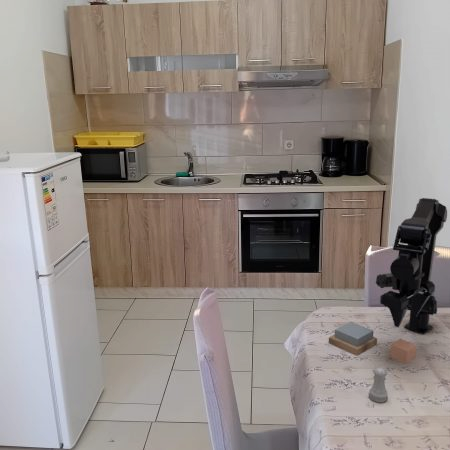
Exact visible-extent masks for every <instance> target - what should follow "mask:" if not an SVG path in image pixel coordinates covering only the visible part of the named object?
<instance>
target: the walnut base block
mask: <svg viewBox="0 0 450 450" xmlns="http://www.w3.org/2000/svg"><path fill="white" fill-rule="evenodd" d="M377 343H378V338H377V337H374V336H373V339H371V340H369V341H367V342H365V343H364V344H362V345H360V346H358V347H356V346H354V345H352V344H349V343H347V342H345V341H342V340H340V339H338V338H336V337H335V333H334V334H333V335H330V336H329V337H328V344H331V345H333V346H334V347H337V348H338V349H340V350H342V351H345V352H347V353H350V354H351V355H354V356H356V357H357V356H359V355H361V354H363V353H364V352H366V351H368V350H369V349H371V348H373V347H374V346H376V345H378V344H377Z"/></svg>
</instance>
